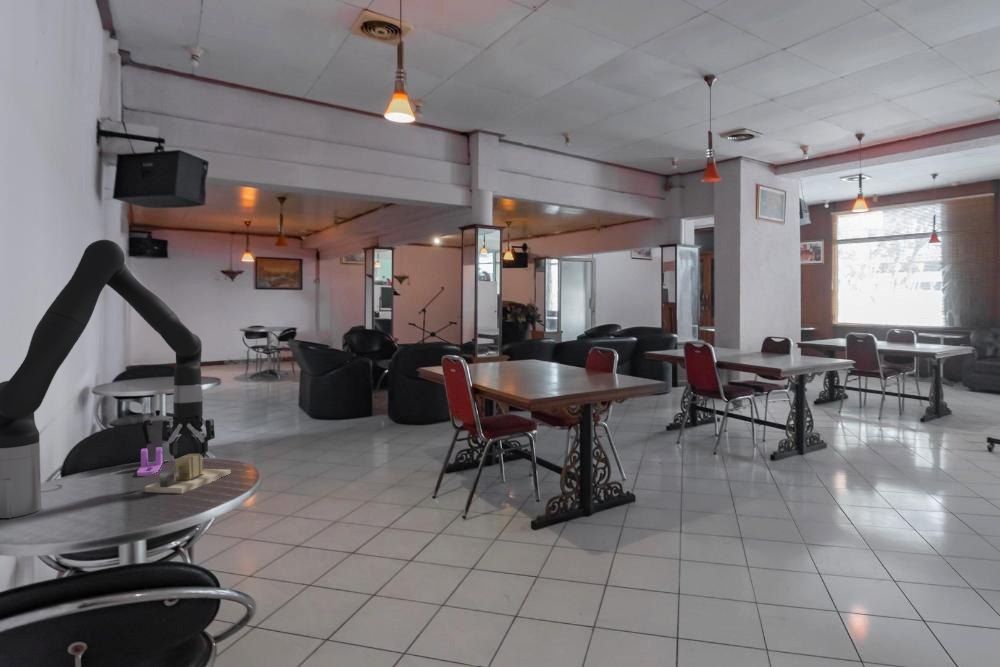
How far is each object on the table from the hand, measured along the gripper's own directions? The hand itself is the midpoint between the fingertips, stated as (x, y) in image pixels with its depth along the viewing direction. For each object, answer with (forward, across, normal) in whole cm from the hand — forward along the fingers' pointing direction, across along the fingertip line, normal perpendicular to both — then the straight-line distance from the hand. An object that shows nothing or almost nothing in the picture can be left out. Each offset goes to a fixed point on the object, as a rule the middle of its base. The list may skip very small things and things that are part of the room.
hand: (188, 454), depth 162 cm
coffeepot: (+8, -27, +29) cm, 40 cm away
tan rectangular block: (+6, 0, 0) cm, 7 cm away
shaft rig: (+8, 0, 0) cm, 8 cm away
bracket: (+9, -21, +16) cm, 28 cm away
